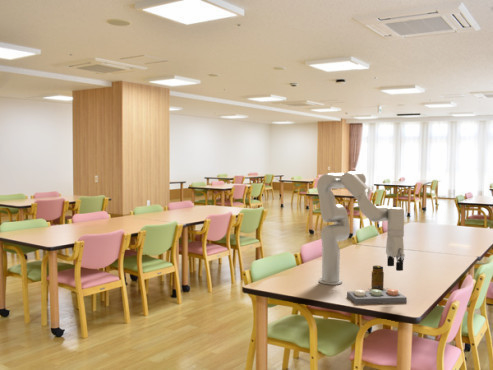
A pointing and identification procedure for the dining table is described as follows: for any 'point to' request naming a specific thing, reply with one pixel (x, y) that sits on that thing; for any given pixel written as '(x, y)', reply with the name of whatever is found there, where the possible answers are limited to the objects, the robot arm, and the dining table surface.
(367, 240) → the dining table surface
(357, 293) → the button cream
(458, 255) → the dining table surface
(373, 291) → the button sage
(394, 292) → the button terracotta
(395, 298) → the panel
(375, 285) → the condiment
